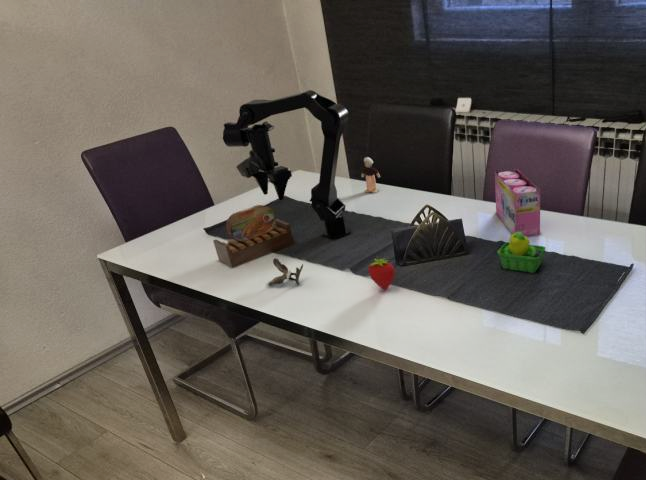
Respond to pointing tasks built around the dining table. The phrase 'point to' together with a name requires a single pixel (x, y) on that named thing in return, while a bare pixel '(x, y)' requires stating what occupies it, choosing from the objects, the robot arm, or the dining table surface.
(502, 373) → the dining table surface
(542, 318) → the dining table surface
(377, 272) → the strawberry
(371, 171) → the grandmother figurine
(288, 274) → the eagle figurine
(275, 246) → the rack
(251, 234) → the tin
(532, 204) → the gum box
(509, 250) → the fruit basket
